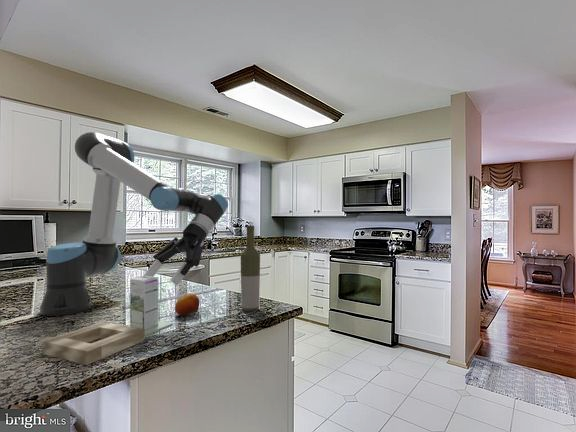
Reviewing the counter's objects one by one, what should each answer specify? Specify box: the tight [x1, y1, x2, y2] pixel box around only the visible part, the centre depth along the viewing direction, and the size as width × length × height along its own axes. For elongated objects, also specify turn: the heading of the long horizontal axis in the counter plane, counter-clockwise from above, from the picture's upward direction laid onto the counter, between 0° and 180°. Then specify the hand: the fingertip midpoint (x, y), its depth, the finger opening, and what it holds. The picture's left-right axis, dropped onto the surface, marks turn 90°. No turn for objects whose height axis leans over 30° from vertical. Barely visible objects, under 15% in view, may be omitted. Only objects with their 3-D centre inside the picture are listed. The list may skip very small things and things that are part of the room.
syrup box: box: [129, 275, 159, 329], centre depth 97 cm, size 6×6×14 cm
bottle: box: [240, 225, 261, 312], centre depth 117 cm, size 7×7×30 cm
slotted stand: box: [41, 321, 146, 366], centre depth 83 cm, size 16×16×3 cm
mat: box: [126, 320, 173, 337], centre depth 97 cm, size 11×11×1 cm
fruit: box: [174, 293, 200, 317], centre depth 112 cm, size 8×8×8 cm
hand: (159, 280), depth 101 cm, fingers open, 13 cm apart
